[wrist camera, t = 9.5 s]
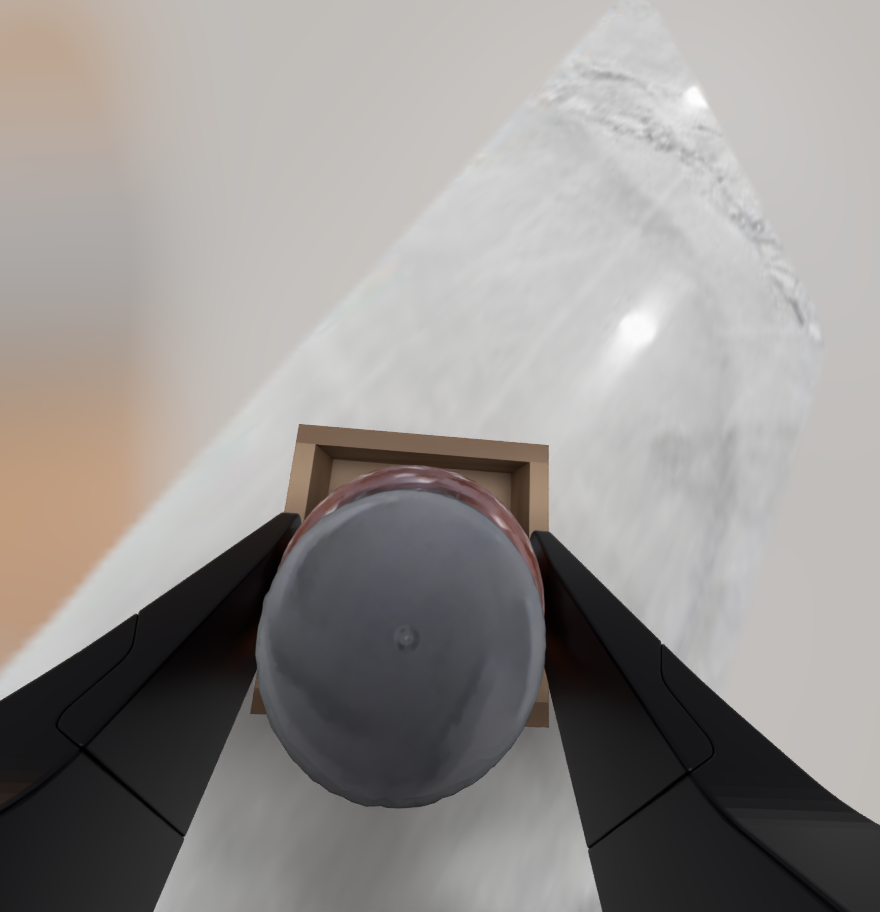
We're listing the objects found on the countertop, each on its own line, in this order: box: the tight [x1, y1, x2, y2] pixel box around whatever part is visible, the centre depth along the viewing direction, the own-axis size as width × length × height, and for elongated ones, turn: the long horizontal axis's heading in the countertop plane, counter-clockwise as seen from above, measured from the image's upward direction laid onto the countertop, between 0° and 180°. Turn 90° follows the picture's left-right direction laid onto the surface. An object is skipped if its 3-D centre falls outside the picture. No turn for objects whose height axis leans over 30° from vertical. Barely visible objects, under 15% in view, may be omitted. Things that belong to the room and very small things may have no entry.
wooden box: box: [250, 424, 549, 728], centre depth 15 cm, size 11×11×4 cm
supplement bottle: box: [255, 465, 546, 808], centre depth 10 cm, size 6×6×11 cm
